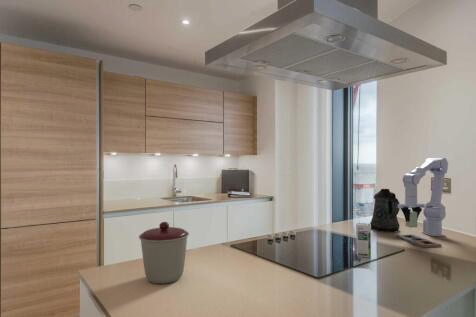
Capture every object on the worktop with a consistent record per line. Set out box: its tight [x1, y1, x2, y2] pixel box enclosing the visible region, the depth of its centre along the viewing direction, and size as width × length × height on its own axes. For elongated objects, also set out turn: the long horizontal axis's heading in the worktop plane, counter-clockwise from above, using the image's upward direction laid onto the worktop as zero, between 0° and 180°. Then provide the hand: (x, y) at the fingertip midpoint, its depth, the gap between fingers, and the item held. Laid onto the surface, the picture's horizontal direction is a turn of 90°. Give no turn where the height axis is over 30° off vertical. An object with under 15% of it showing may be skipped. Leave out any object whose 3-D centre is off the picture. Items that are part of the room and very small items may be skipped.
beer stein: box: [369, 188, 401, 233], centre depth 195 cm, size 16×19×25 cm
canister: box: [138, 221, 190, 285], centre depth 118 cm, size 18×18×21 cm
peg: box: [404, 210, 418, 229], centre depth 172 cm, size 4×4×8 cm
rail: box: [395, 234, 442, 249], centre depth 167 cm, size 21×10×1 cm, turn 7°
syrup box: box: [355, 222, 372, 258], centre depth 144 cm, size 6×6×14 cm
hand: (411, 221), depth 171 cm, fingers closed on peg, 4 cm apart
